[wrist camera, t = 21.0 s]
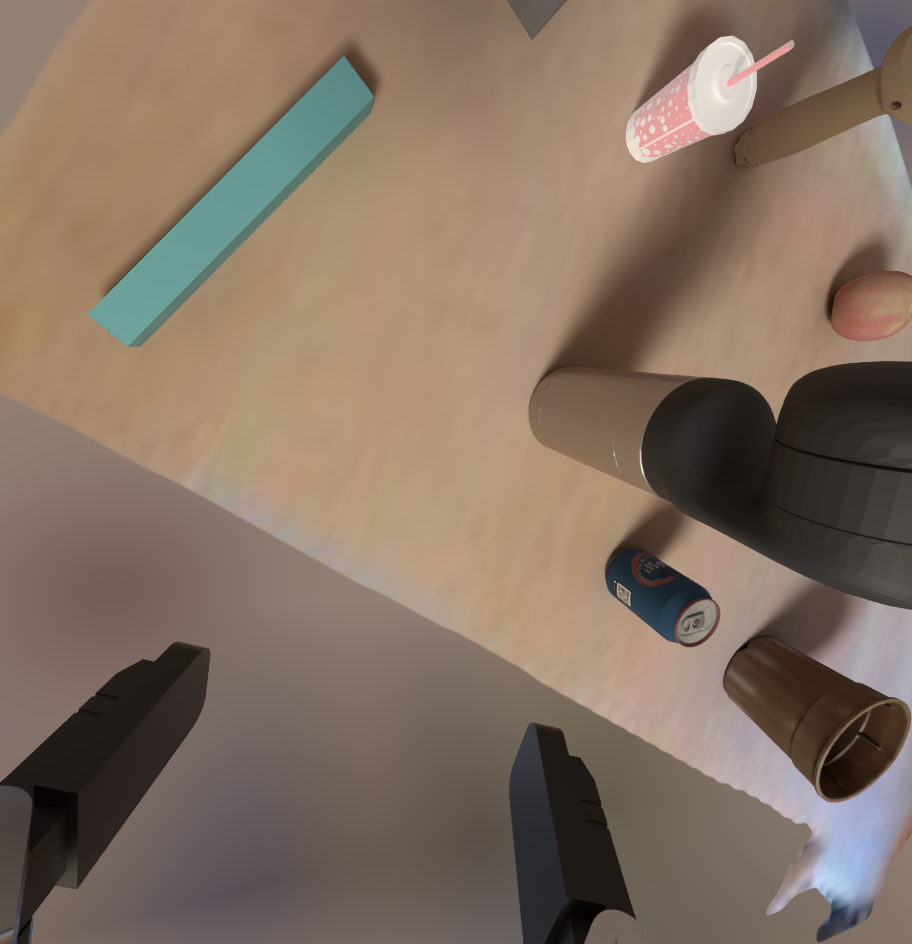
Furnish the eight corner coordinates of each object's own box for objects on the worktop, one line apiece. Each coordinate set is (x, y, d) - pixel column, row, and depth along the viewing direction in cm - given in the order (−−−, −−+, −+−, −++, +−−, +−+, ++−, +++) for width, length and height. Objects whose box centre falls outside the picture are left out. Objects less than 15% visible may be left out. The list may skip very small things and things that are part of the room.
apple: (821, 354, 57) (897, 355, 50) (803, 306, 54) (881, 300, 47) (863, 312, 57) (944, 307, 50) (847, 262, 54) (931, 249, 47)
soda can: (646, 539, 56) (728, 586, 45) (645, 585, 59) (722, 641, 48) (600, 551, 55) (673, 604, 44) (600, 599, 57) (669, 660, 46)
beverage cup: (682, 139, 43) (837, 54, 31) (641, 186, 43) (780, 121, 31) (650, 80, 41) (804, -39, 28) (607, 130, 41) (742, 34, 28)
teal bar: (341, 78, 34) (343, 55, 31) (369, 116, 35) (374, 96, 33) (105, 317, 34) (87, 314, 31) (142, 346, 35) (127, 346, 32)
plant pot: (702, 719, 71) (805, 819, 56) (721, 633, 66) (839, 716, 51) (776, 698, 75) (889, 784, 61) (798, 616, 71) (926, 688, 56)
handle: (747, 194, 47) (925, 132, 34) (713, 150, 45) (891, 64, 31) (772, 153, 47) (963, 74, 33) (739, 106, 44) (932, 0, 31)
